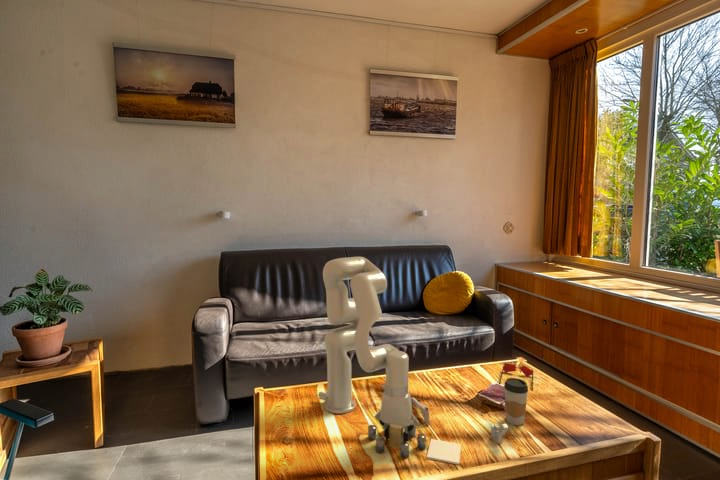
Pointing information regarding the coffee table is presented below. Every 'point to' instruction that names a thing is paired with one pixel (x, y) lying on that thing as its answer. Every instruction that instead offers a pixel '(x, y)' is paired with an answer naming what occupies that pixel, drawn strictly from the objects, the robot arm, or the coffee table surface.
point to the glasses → (524, 369)
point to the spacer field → (403, 445)
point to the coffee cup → (515, 400)
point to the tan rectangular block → (395, 435)
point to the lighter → (498, 432)
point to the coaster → (444, 451)
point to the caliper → (422, 410)
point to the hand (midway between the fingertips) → (396, 440)
